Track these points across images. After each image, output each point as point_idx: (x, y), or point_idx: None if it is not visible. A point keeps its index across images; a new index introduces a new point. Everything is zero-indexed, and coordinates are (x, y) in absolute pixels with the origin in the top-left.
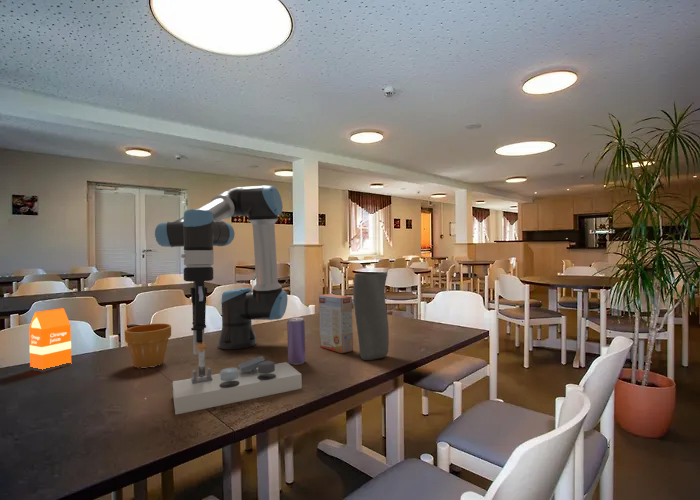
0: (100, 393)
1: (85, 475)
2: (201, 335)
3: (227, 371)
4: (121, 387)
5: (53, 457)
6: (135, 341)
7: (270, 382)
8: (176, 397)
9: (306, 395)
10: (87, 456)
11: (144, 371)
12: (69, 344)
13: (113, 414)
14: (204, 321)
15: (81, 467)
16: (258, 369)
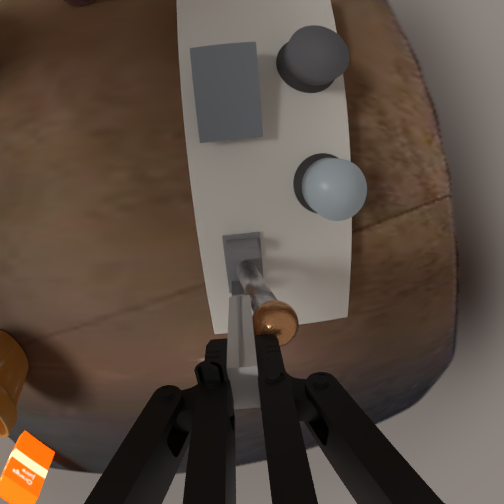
0: None
1: (434, 361)
2: (281, 357)
3: (349, 197)
4: (124, 394)
5: (373, 405)
6: (15, 415)
7: None
8: (345, 314)
9: (363, 12)
10: (396, 376)
11: (41, 361)
12: (15, 454)
13: None
14: (354, 404)
15: (416, 371)
16: (316, 83)
